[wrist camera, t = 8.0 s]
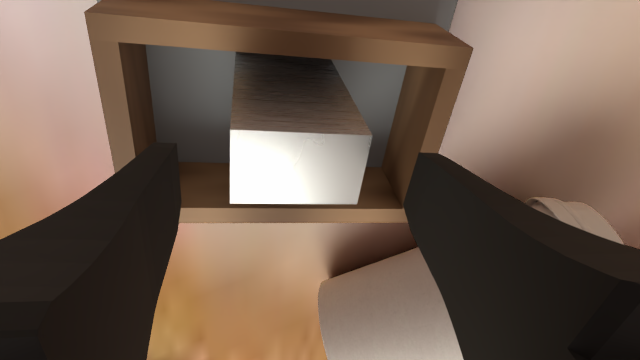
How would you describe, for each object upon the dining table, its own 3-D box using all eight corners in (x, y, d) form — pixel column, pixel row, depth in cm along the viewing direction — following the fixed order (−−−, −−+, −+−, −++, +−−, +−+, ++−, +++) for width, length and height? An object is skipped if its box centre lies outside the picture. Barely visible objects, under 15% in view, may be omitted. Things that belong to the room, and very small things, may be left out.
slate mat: (455, -6, 17) (458, -4, 16) (397, 193, 22) (399, 197, 22) (92, -50, 14) (88, -49, 14) (132, 189, 20) (130, 194, 19)
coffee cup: (364, 467, 21) (673, 416, 18) (299, 339, 18) (667, 252, 15) (358, 332, 30) (567, 283, 27) (314, 228, 27) (548, 160, 24)
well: (435, 23, 17) (473, 48, 14) (392, 180, 21) (414, 222, 19) (115, -10, 14) (84, 12, 12) (142, 175, 19) (124, 223, 16)
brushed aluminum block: (235, 50, 16) (229, 129, 11) (330, 58, 17) (372, 135, 11) (234, 136, 19) (230, 240, 13) (318, 140, 19) (349, 238, 14)
